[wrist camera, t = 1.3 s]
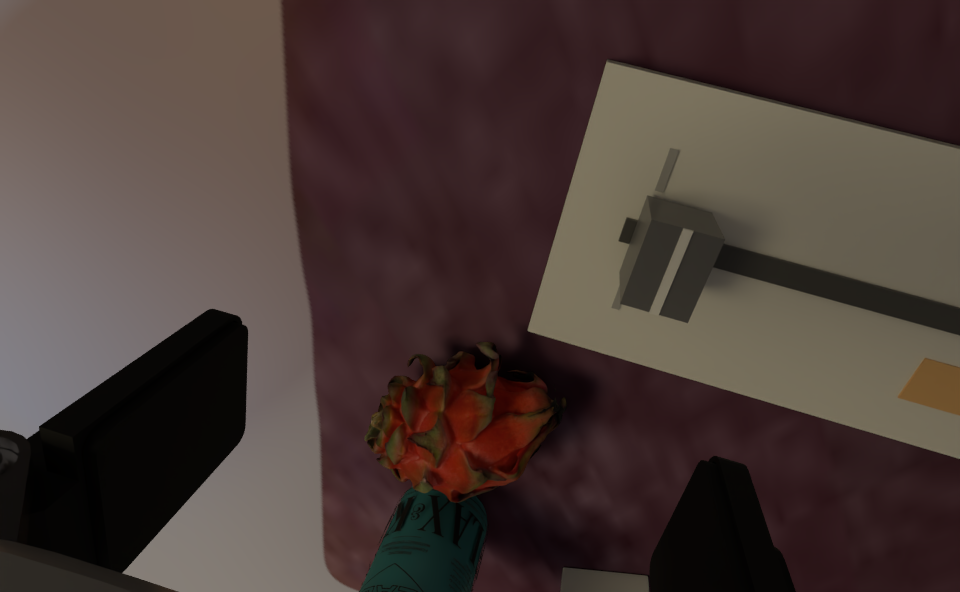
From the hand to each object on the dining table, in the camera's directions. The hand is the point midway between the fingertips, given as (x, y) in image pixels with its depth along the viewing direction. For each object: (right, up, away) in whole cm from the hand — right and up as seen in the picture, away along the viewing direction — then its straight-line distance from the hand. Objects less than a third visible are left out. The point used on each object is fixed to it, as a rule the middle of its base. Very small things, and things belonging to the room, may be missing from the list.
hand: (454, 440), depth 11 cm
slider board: (+17, +4, +17) cm, 25 cm away
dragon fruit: (0, -3, +25) cm, 25 cm away
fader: (+9, +5, +16) cm, 19 cm away
